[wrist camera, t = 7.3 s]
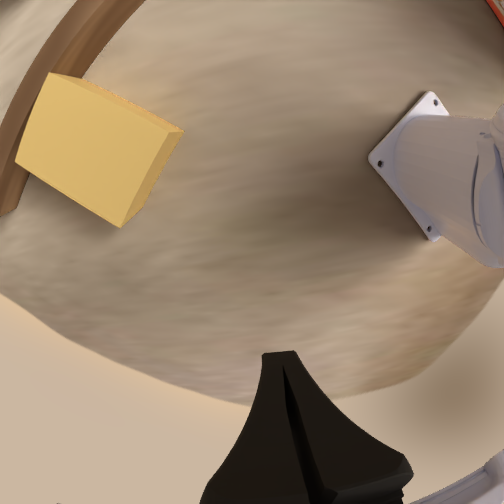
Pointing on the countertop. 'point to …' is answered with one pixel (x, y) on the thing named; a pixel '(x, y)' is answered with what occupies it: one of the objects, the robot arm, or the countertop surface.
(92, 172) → the ochre block
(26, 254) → the countertop surface
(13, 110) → the walnut board
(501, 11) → the cracker box
